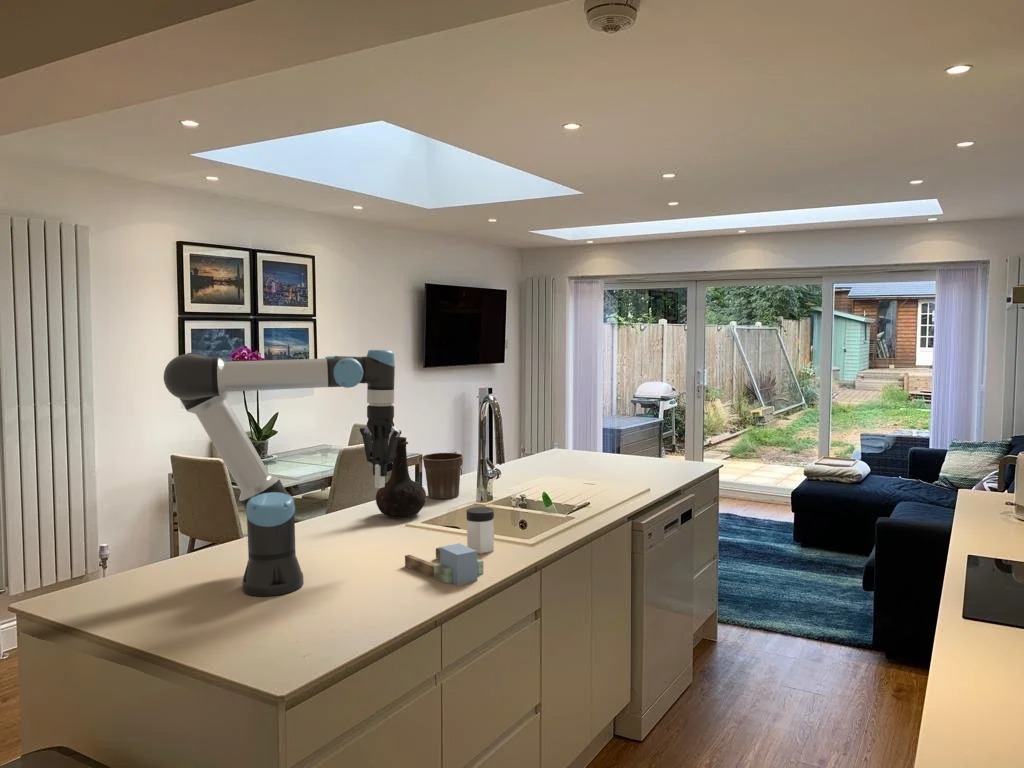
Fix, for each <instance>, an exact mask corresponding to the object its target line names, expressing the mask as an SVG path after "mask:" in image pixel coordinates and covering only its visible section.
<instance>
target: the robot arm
mask: <svg viewBox="0 0 1024 768" xmlns="http://www.w3.org/2000/svg"><path fill="white" fill-rule="evenodd" d="M395 370H396V365H395V353H394V351H393V350H389V349H369V350H368V351H367V354H366V356H347V355H345V356H342V355H341V356H340V355H334V356H333V355H330V356H328V355H327V356H325V358H303V359H302V358H301V359H297V358H296V359H271V360H270V359H269V360H268V359H267V360H264V359H263V360H236V361H233V360H232V361H224V360H223V359H222V358H220V357H209V356H207V355H206V354H204V353H200V352H187V353H184V354H181V355H178V356H176V357H174V358H173V359H171V360H170V361H169V362H168V364H166V366H165V369H164V373H163V383H164V386H165V388H166V389H167V391H168V392H169V393H170V394H171V395H172V396H174V397H176V398H178V399H179V400H180V402H181V404H182V405H183V407H184V409H185V410H186V412H188V413H191V414H194V415H195V416H196V417H197V419H198V420H199V422H200V424H201V425H202V427H203V429H204V430H205V433H206V434H207V435H208V437H209V439H210V441H211V442H212V444H213V446H214V448H215V449H216V451H217V453H218V455H219V456H220V457H221V459H222V461H223V463H224V465H225V467H226V468H227V470H228V472H229V473H230V475H231V476H232V479H233V480H234V482H235V484H236V486H237V487H238V488H239V490H240V494H239V498H238V501H239V502H240V504H241V506H242V507H243V509H244V511H245V516H246V527H247V528H246V531H247V551H248V552H247V553H248V554H247V555H248V560H247V563H246V567H245V571H244V575H243V578H242V580H241V585H242V586H241V587H242V588H241V589H242V592H243V593H244V594H246V595H249V596H255V597H273V596H279V595H284V594H289V593H292V592H295V591H297V590H299V589H300V588H302V587H303V586H304V584H305V583H304V580H305V579H304V574H303V571H302V570H301V569H302V568H301V566H300V563H299V561H298V558H297V554H296V528H295V527H296V526H295V515H296V504H295V503H296V502H295V499H294V498H293V497H292V496H293V495H291V494H290V493H289V492H288V491H287V490H286V488H285V486H284V485H283V483H282V482H281V480H280V478H279V477H278V476H275V475H271V474H270V472H269V470H268V469H267V466H265V463H264V462H263V460H262V458H261V457H260V455H259V453H258V452H257V449H256V448H255V446H254V445H253V443H252V441H251V439H250V438H249V435H248V434H247V432H246V431H245V429H244V427H243V425H242V423H241V422H240V419H239V418H238V417H237V415H236V413H235V412H234V410H233V408H232V406H231V404H230V403H229V401H228V398H227V396H228V394H229V393H230V392H247V391H248V392H249V391H266V390H267V391H270V390H272V391H273V390H292V389H295V390H296V389H315V388H345V389H346V388H353V387H356V386H358V385H359V384H367V389H366V391H367V392H366V403H367V404H368V405H367V406H366V418H367V422H366V425H365V426H364V427H360V428H359V432H360V434H361V436H362V442H363V447H364V452H365V457H366V458H365V459H366V462H367V463H369V462H370V463H371V464H372V476H374V488H375V489H379V488H383V487H385V483H386V479H385V478H386V477H387V476H388V465H389V464H393V460H394V456H395V451H396V447H397V442H398V438H399V437H401V434H402V430H400V429H397V428H396V427H395V423H394V418H395V406H394V403H395Z"/></svg>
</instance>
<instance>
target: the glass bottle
mask: <svg viewBox="0 0 1024 768" xmlns="http://www.w3.org/2000/svg"><path fill="white" fill-rule="evenodd" d="M407 445H409V442H408V441H407V437H404V436H399V438H398V442H397V447H396V451H395V456H394V460H393V462H392V467H391V468H392V469H391V473H390V477H389V479H388V481H387V482H385V487H383V488H378V490H377V491H376V495H375V503H376V506H377V508H378V510H379V511H380V513H382V514H383V516H386V517H388V518H392V519H406V518H411V517H413V516H416V515H418V514H419V512H420V511H422V509H424V506H425V504H426V501H427V494H426V493H427V492H426V490H425V488H424V487H423V486H422V484H420V483H419V482H417V481H414V480H412V479H411V477H410V473H409V467H408V456H407V455H408V454H407Z"/></svg>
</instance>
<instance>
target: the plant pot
mask: <svg viewBox="0 0 1024 768" xmlns="http://www.w3.org/2000/svg"><path fill="white" fill-rule="evenodd" d="M463 458H464V455H463V454H462V453H457V452H456V453H455V452H435V453H429V454H425V455H424V454H423V456H421V459H422V460H423V468H424V469H425V470H424V471H425V479H426V487H427V488H426V489H427V496H428V498H429V499H432V498H433V499H434V500H441V499H445V500H449V499H451V498H452V499H455V498H457V497H459V496H460V485H461V484H460V482H461V467H462V466H463V465H462V462H463ZM433 499H432V500H433Z"/></svg>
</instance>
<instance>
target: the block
mask: <svg viewBox="0 0 1024 768" xmlns="http://www.w3.org/2000/svg"><path fill="white" fill-rule="evenodd" d="M439 547H440V560H439V561H440V562H439V564H440V565H443V566H445V567H448V568H450V569H452V582H451V583H453V584H454V585H456V586H460V585H465V584H469V583H472V582H477V581H478V574H477V559H478V553H477V551H476V550H474V549H471V548H469V547H467V545H464V544H462V543H454V544H448V545H445V546H439Z"/></svg>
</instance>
